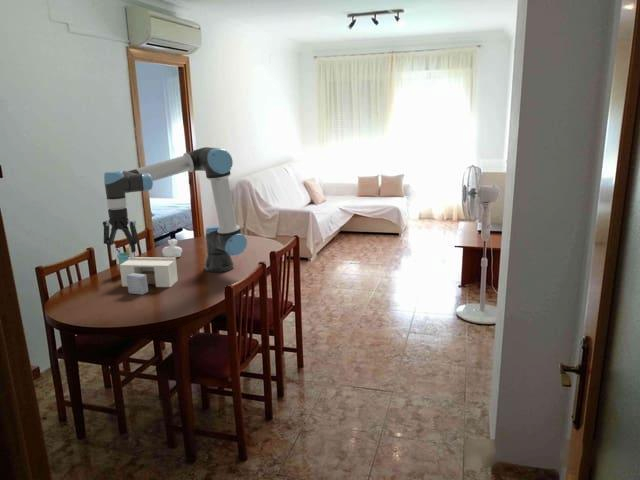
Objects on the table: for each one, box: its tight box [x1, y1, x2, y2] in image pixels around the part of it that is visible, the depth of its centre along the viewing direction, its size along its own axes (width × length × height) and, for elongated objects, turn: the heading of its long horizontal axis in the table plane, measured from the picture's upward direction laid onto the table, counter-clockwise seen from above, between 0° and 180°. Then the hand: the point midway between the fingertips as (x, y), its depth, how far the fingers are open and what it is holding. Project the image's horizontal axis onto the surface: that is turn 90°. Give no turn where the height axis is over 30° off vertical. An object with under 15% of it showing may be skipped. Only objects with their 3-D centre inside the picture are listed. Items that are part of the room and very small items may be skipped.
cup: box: [116, 246, 136, 265], centre depth 258 cm, size 14×8×15 cm, turn 157°
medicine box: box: [127, 273, 149, 295], centre depth 232 cm, size 8×4×9 cm, turn 71°
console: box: [119, 256, 179, 288], centre depth 244 cm, size 24×10×12 cm, turn 84°
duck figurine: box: [161, 238, 183, 258], centre depth 291 cm, size 12×8×11 cm
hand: (123, 259), depth 219 cm, fingers open, 8 cm apart
